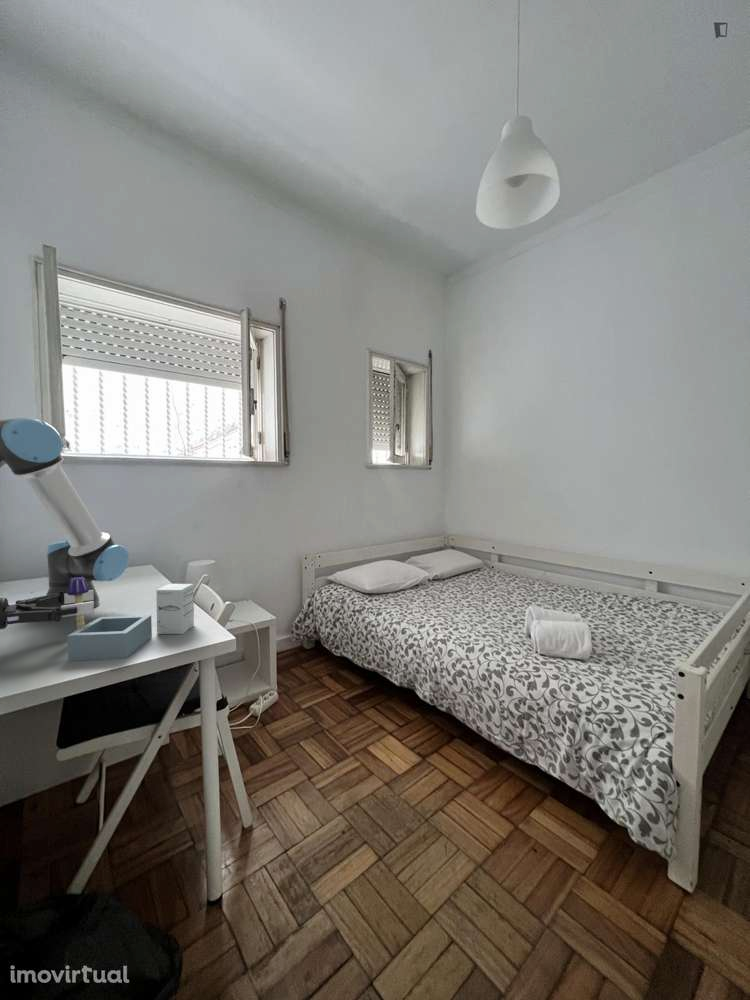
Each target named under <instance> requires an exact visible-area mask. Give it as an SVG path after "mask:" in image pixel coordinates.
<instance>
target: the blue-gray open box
mask: <svg viewBox="0 0 750 1000" xmlns="http://www.w3.org/2000/svg"><path fill="white" fill-rule="evenodd" d="M152 630H153V628H152V614H149V615H146V614H145V615H123V616H122V615H119V616H118V615H117V616H116V615H115V616H100V617H98V618H96V619H94V620H93V621H91V622H89V623H87V624H85V625H84V626H83V627H82V628H80V629H78V630H77V629H76V630H75V631H73V632H71V633H69V634H67V636H66V637H67V639H66V640H67V661H68V662H71V661H89V660H90V661H91V660H111V659H112V660H113V659H127V658H129V656H131V655H132V654H133V653H134V652H136V651H137V650H138V649H139V648H141V646H143V645H144V644H146V642H148V641H149V640H150V639H151V638H152V636H153V633H152Z"/></svg>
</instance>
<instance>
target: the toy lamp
mask: <svg viewBox="0 0 750 1000" xmlns="http://www.w3.org/2000/svg"><path fill="white" fill-rule="evenodd" d="M88 591H89V588H88V586H87V583H86V581H85V578H84V577H76V578H72V579H71V580H70V583H69V587H68V591H67V594H68V595H75V596H74V597H75V599H76V600H75V604H78V603H83V599H82V597H83V594H84V593H87V592H88ZM75 616H76V617H75V620H76V627H77V628H76V630H78V629H80V628H82V627H83V626H85V625H86V623H85V616H84V614H80V615H75Z"/></svg>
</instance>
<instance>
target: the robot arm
mask: <svg viewBox="0 0 750 1000" xmlns="http://www.w3.org/2000/svg"><path fill="white" fill-rule="evenodd" d="M62 447H63V440H62V437H61V435H60V433H59V432H58V431H57V430H56V428H55V427H53V426H52V425H50V424H49V423H47V422H45V421H42V420H41V419H36V418H35V419H34V418H28V417H27V418H26V417H20V418H19V417H17V418H9V419H1V420H0V469H1V468H2V467H3V466H4V465H6V464H7V467H8V468H9V469H10V470H11V472H12V473H13V474H14V475H15V476H17V477H20V478H23V479H25V480H26V482H27V483H28V484H29V485H28V486H30V487H31V490H33V492H34V494H35V495H36V496H37V498H38V500H39V501H40V503H41V504H42V505H43V507H44V509H45V510H46V511H47V513H48V514H49V516H50V517H51V519H52V521H54V523H55V525H56V526H57V528H58V529H59V531H60V532H61V534H62V536H63V537H64V539H66V541H58V542H52V543H50V544H49V545H48V546H47V551H46V552H47V554H46V556H47V571H48V572H47V576H48V578H47V579H48V589H47V593H46V595H41V596H36V597H31V598H26V599H20V600H19V599H18V600H16V601H15V604H9V600H8V598H6V597H0V630H5V629H6V628H7V627H8V625H14V624H15V625H17V624H24V623H26V624H27V623H28V624H29V623H46V622H55V623H56V622H61V621H62V618H65V617H66V618H67V617H73V616H76V615H80V614H83V615H85V614H90V613H91V614H92V613H94V612H95V608H96V607H99V606H100V597H99V594H98V592H97V589H96V588H95V585H94V583H93V582H112V581H114V580H117V579H118V578H120V577H121V576H123V574H124V573H125V572H126V570H127V569H128V567H129V566H128V564H129V563H130V554H129V551H128V549H127V548H126V547H124V546H123V545H121V544H115V541H113V538H112V537H111V535H110V534H109V533H107V532H102V530H100V528H99V526H98V525H97V523H96V521H95V520H94V518H93V517H92V515H91V513H90V511H89V510H88V508H87V507H86V505H85V503H84V502H83V500H82V498H81V497H80V495H79V494H78V492H77V491H76V489H75V487H74V485H73V484H72V482H71V481H70V479H69V477H68V476H67V474H66V473H65V471H64V469H63V467H62V463H63V462H64V458H63V457H64V456H63V455H62V454H61V453H62V450H63V449H62ZM76 577H84V578H85V581H86V583H87V586H88V588H89V591H88V592H87V593H84V594H83V597H82V599H83V603H78V604H75V600H76V599H75V597H74V596H75V595H68V594H67V591H68V587H69V583H70V580H71V579H72V578H76Z"/></svg>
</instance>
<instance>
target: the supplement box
mask: <svg viewBox="0 0 750 1000" xmlns="http://www.w3.org/2000/svg"><path fill="white" fill-rule="evenodd" d="M194 589H195V587H194V583H168V584H166V585H163V586H161V587H159V588H157V589H156V635H163V634H164V635H167V634H168V635H169V634H170V635H171V634H172V635H183V634H185V633H186V632H187V631H189V630H188V629H189V628H190V629H191V628H192V627H193V625H195V611H194V610H195V607H194V605H195V604H194V603H195V602H194V601H195V599H194V598H195V596H194V595H195V594H194V593H195V591H194Z"/></svg>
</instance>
